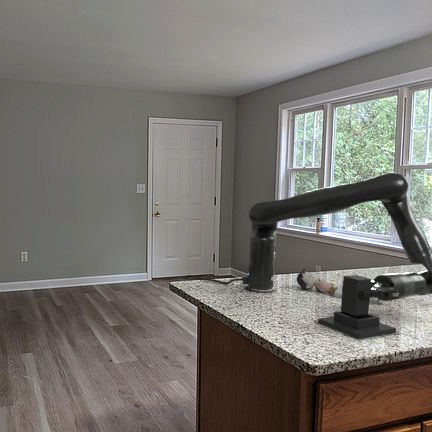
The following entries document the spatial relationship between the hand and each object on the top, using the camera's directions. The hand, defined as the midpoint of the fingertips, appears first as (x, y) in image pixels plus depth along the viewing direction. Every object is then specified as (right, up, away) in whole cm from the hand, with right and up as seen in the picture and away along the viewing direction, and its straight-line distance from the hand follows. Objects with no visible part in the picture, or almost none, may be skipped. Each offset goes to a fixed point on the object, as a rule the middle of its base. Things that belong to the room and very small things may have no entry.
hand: (351, 292), depth 120 cm
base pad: (+2, -10, +2) cm, 11 cm away
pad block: (+1, -6, +1) cm, 6 cm away
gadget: (+23, -8, +39) cm, 46 cm away
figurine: (+7, -7, +44) cm, 45 cm away
